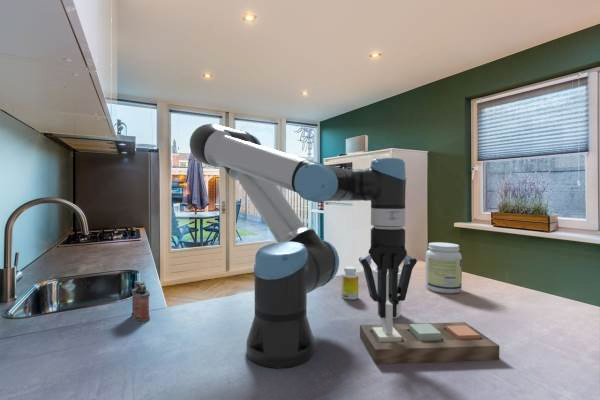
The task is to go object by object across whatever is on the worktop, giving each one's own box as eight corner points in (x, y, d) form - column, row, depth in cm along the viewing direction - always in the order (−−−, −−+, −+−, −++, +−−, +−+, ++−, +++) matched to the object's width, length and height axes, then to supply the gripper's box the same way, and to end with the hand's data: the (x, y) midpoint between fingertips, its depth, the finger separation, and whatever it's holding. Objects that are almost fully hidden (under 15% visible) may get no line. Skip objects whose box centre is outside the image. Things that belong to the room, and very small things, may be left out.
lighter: (152, 320, 84) (152, 284, 84) (139, 324, 82) (139, 286, 82) (141, 312, 90) (141, 278, 90) (128, 315, 87) (128, 280, 87)
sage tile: (419, 342, 67) (419, 333, 67) (409, 332, 72) (409, 324, 72) (440, 342, 68) (441, 333, 68) (429, 331, 73) (429, 323, 73)
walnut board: (375, 363, 63) (375, 349, 63) (359, 336, 75) (359, 324, 75) (499, 359, 65) (499, 345, 65) (464, 334, 77) (465, 322, 77)
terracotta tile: (458, 344, 68) (458, 335, 68) (445, 334, 73) (446, 325, 73) (479, 343, 68) (479, 334, 68) (465, 333, 73) (466, 325, 73)
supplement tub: (468, 294, 108) (468, 247, 108) (433, 294, 108) (434, 246, 108) (451, 284, 120) (452, 241, 120) (420, 284, 120) (420, 241, 120)
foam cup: (407, 321, 84) (408, 274, 84) (373, 318, 86) (373, 273, 86) (403, 309, 94) (403, 267, 94) (372, 306, 96) (372, 265, 95)
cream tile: (379, 346, 67) (379, 337, 67) (372, 335, 72) (372, 327, 72) (401, 345, 67) (401, 336, 67) (392, 335, 72) (393, 326, 72)
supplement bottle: (360, 299, 102) (361, 269, 102) (345, 300, 101) (345, 269, 101) (354, 294, 108) (354, 265, 108) (339, 295, 106) (339, 266, 106)
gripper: (364, 229, 65) (363, 339, 65) (423, 228, 66) (422, 337, 66) (355, 225, 72) (354, 324, 73) (408, 225, 73) (407, 323, 74)
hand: (387, 330), depth 69 cm, fingers closed
